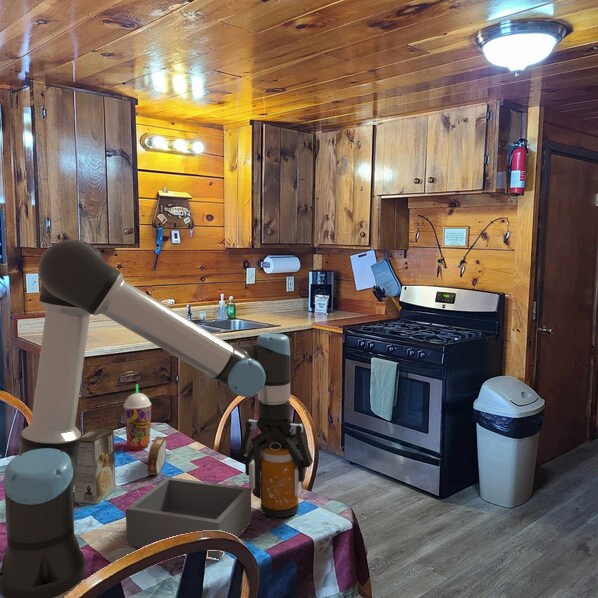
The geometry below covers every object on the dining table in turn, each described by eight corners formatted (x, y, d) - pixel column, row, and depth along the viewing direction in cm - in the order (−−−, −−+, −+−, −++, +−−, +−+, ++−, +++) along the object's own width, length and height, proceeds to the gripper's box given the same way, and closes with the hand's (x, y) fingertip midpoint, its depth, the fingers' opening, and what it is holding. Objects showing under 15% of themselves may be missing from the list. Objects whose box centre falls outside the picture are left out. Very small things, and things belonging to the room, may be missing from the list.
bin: (219, 561, 118) (219, 523, 117) (126, 545, 124) (125, 508, 123) (251, 521, 134) (251, 488, 133) (168, 509, 140) (167, 477, 140)
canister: (301, 517, 136) (301, 434, 134) (253, 521, 134) (252, 437, 132) (295, 501, 145) (294, 422, 143) (250, 504, 143) (249, 425, 141)
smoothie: (137, 453, 177) (135, 389, 175) (118, 448, 181) (117, 385, 180) (158, 445, 184) (156, 383, 182) (139, 440, 188) (138, 380, 186)
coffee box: (93, 487, 153) (91, 427, 151) (116, 489, 152) (114, 429, 150) (73, 502, 144) (71, 439, 142) (97, 504, 143) (95, 441, 141)
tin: (157, 459, 172) (157, 432, 172) (168, 459, 173) (167, 431, 172) (146, 480, 157) (145, 450, 157) (158, 480, 158) (157, 450, 157)
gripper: (326, 399, 137) (326, 490, 139) (234, 392, 143) (236, 479, 146) (317, 408, 130) (318, 504, 132) (222, 400, 136) (223, 491, 138)
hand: (275, 491), depth 139 cm, fingers closed on canister, 11 cm apart
